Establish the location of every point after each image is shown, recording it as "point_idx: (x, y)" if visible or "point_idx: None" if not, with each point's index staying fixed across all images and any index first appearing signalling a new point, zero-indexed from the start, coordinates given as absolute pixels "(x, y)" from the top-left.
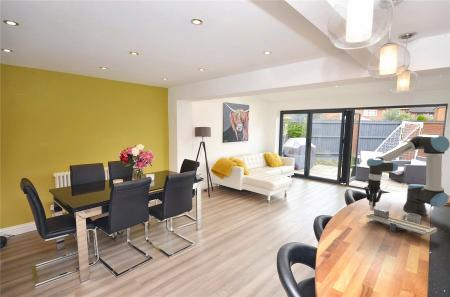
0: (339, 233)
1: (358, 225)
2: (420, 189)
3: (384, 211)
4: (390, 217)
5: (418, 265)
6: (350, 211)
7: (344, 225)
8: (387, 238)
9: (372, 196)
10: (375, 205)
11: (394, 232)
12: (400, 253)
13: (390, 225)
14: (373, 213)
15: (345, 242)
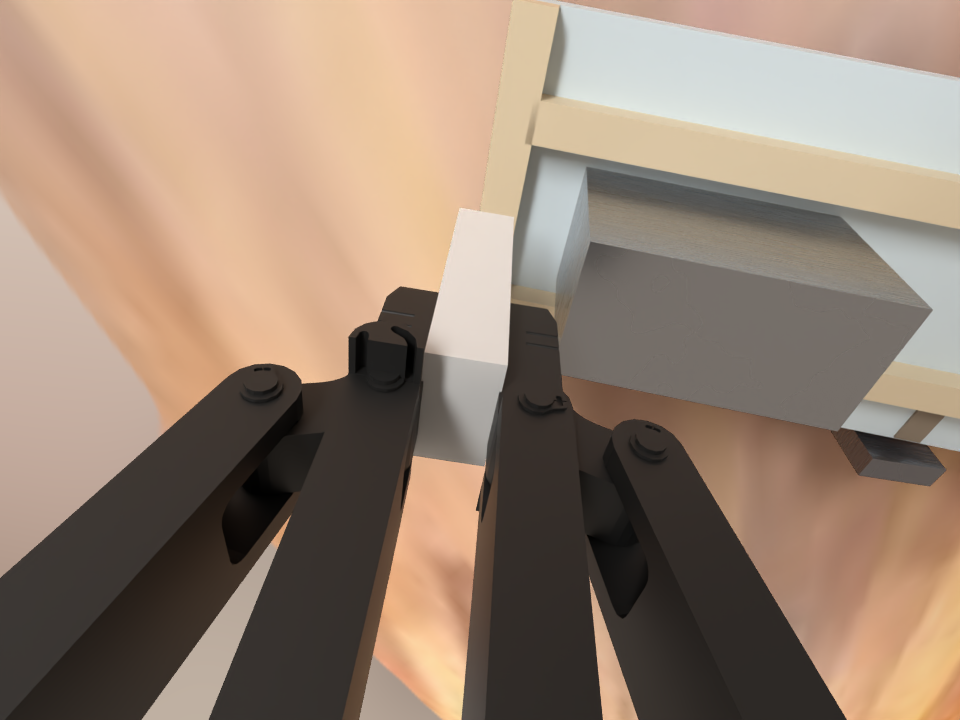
0: (461, 658)
1: (476, 481)
2: None
3: (805, 419)
4: (888, 214)
5: (943, 693)
6: (29, 47)
7: (397, 556)
8: (776, 543)
9: (378, 580)
10: (556, 332)
11: None
12: (858, 655)
13: (839, 437)
14: (514, 195)
15: None
